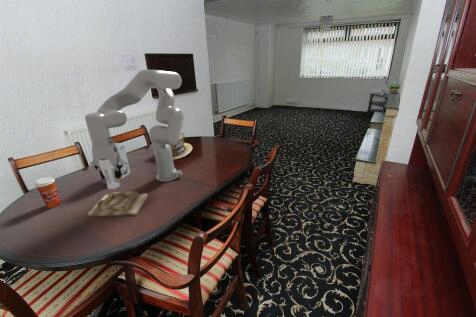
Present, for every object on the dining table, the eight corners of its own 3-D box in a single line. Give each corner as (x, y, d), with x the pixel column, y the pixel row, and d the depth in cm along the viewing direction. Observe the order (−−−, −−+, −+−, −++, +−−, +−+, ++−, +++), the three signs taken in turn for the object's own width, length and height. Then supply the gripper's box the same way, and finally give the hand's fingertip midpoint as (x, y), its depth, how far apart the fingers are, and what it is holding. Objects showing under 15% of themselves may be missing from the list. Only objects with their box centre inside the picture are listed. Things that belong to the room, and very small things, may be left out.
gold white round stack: (172, 163, 160) (168, 139, 153) (152, 154, 174) (147, 132, 168) (199, 151, 177) (197, 130, 170) (179, 144, 191) (176, 124, 185)
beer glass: (109, 182, 115) (101, 154, 108) (124, 182, 115) (117, 153, 109) (103, 190, 108) (94, 160, 102) (119, 189, 109) (111, 159, 103)
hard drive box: (114, 185, 134) (105, 153, 126) (103, 184, 136) (93, 152, 127) (131, 172, 148) (124, 143, 140) (120, 171, 150) (112, 142, 141)
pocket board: (147, 195, 124) (146, 189, 122) (135, 214, 109) (134, 208, 108) (105, 196, 124) (104, 190, 122) (88, 216, 109) (86, 209, 108)
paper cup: (48, 211, 113) (37, 185, 108) (41, 206, 117) (30, 181, 111) (66, 202, 119) (57, 178, 114) (59, 198, 123) (49, 174, 117)
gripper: (125, 138, 106) (133, 173, 113) (87, 139, 106) (97, 174, 113) (117, 144, 99) (127, 181, 106) (76, 145, 99) (88, 182, 106)
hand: (111, 177), depth 110 cm, fingers closed on beer glass, 6 cm apart
